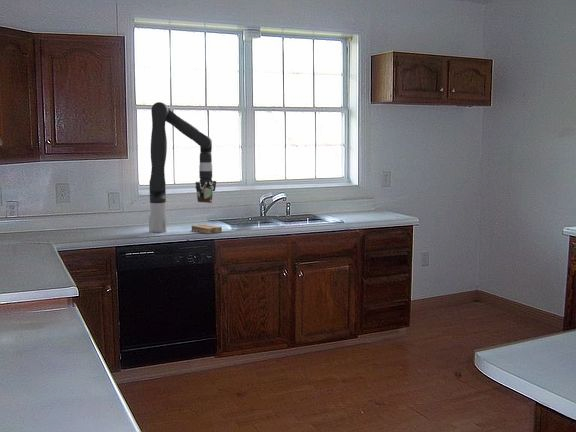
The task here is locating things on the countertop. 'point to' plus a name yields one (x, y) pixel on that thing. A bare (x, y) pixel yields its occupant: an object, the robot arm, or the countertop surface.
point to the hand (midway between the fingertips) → (206, 198)
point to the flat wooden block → (207, 228)
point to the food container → (206, 195)
